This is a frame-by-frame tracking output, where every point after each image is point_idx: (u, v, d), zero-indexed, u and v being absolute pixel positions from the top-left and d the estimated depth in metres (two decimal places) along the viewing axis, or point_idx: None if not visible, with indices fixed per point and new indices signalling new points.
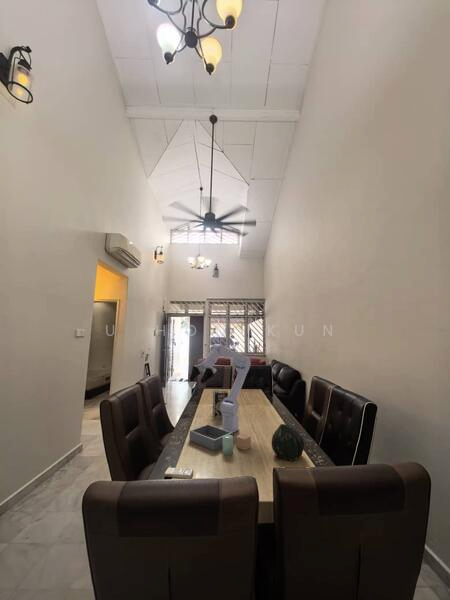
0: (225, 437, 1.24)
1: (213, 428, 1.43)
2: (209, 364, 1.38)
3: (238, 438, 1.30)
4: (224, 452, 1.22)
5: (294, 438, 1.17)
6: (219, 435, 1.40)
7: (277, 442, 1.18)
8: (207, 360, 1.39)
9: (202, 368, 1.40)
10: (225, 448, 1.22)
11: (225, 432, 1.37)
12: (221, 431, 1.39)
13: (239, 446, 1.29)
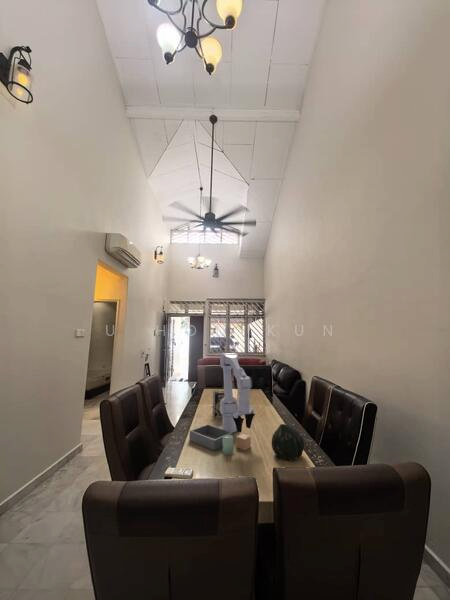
0: (225, 437, 1.24)
1: (213, 428, 1.43)
2: None
3: (238, 438, 1.30)
4: (224, 452, 1.22)
5: (294, 438, 1.17)
6: (219, 435, 1.40)
7: (277, 442, 1.18)
8: (249, 405, 1.32)
9: None
10: (225, 448, 1.22)
11: (225, 432, 1.37)
12: (221, 431, 1.39)
13: (239, 446, 1.29)
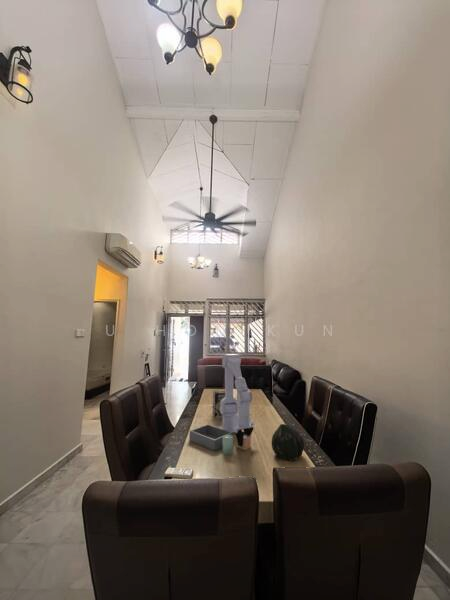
0: (225, 437, 1.24)
1: (213, 428, 1.43)
2: None
3: None
4: (224, 452, 1.22)
5: (294, 438, 1.17)
6: (219, 435, 1.40)
7: (277, 442, 1.18)
8: (249, 419, 1.31)
9: None
10: (225, 448, 1.22)
11: (225, 432, 1.37)
12: (221, 431, 1.39)
13: (239, 446, 1.29)
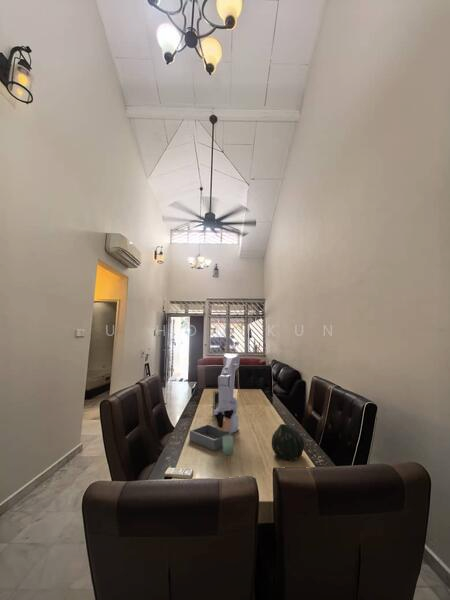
0: (225, 437, 1.24)
1: (213, 428, 1.43)
2: None
3: None
4: (224, 452, 1.22)
5: (294, 438, 1.17)
6: (219, 435, 1.40)
7: (277, 442, 1.18)
8: (229, 402, 1.36)
9: None
10: (225, 448, 1.22)
11: (225, 432, 1.37)
12: (221, 431, 1.39)
13: (219, 428, 1.33)
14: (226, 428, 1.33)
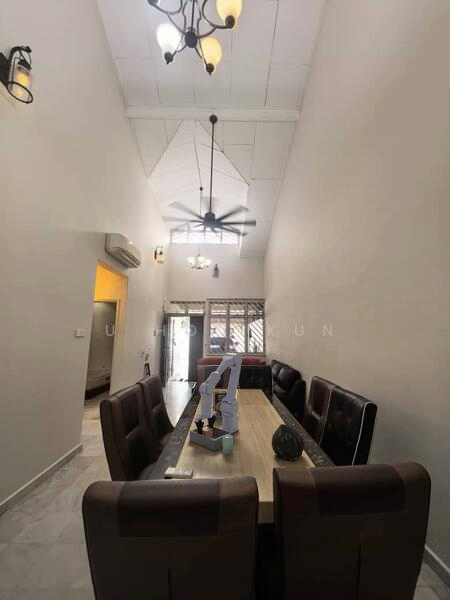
0: (225, 437, 1.24)
1: (213, 428, 1.43)
2: None
3: None
4: (224, 452, 1.22)
5: (294, 438, 1.17)
6: (219, 435, 1.40)
7: (277, 442, 1.18)
8: (210, 409, 1.39)
9: None
10: (225, 448, 1.22)
11: (225, 432, 1.37)
12: (221, 431, 1.39)
13: None
14: None
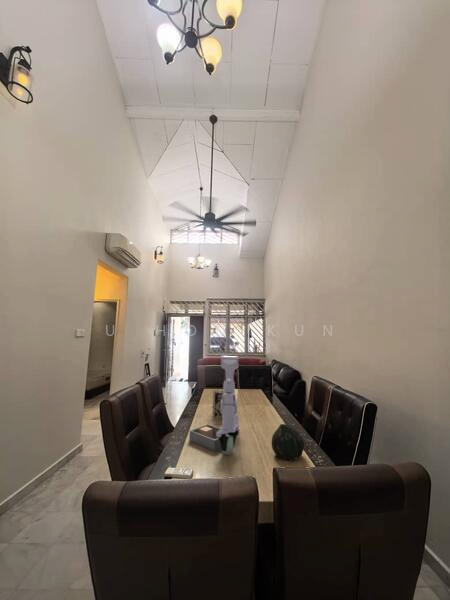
0: None
1: (213, 428, 1.43)
2: None
3: (200, 430, 1.37)
4: (224, 452, 1.22)
5: (294, 438, 1.17)
6: None
7: (277, 442, 1.18)
8: (233, 423, 1.25)
9: None
10: None
11: None
12: None
13: None
14: None
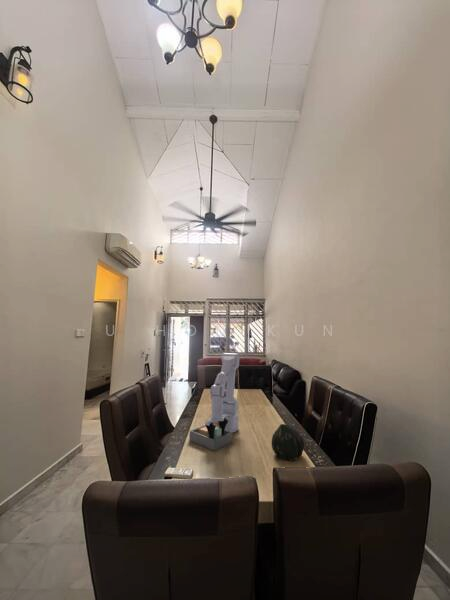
0: None
1: None
2: None
3: (200, 430, 1.37)
4: None
5: (294, 438, 1.17)
6: None
7: (277, 442, 1.18)
8: (222, 412, 1.34)
9: None
10: None
11: (225, 432, 1.37)
12: None
13: None
14: None
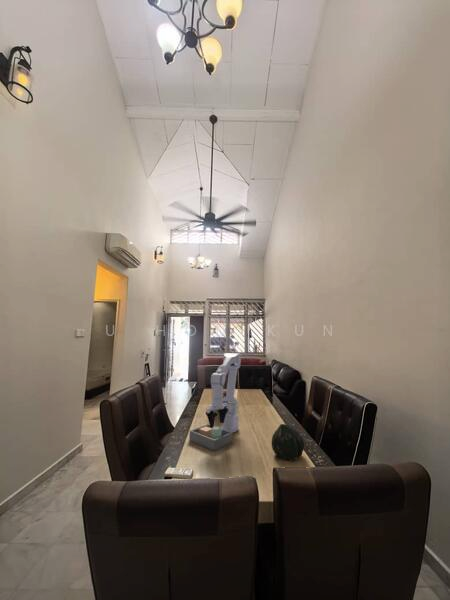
0: (214, 429, 1.33)
1: None
2: None
3: (200, 430, 1.37)
4: None
5: (294, 438, 1.17)
6: None
7: (277, 442, 1.18)
8: (222, 401, 1.34)
9: None
10: None
11: (225, 432, 1.37)
12: None
13: None
14: None
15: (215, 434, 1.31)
